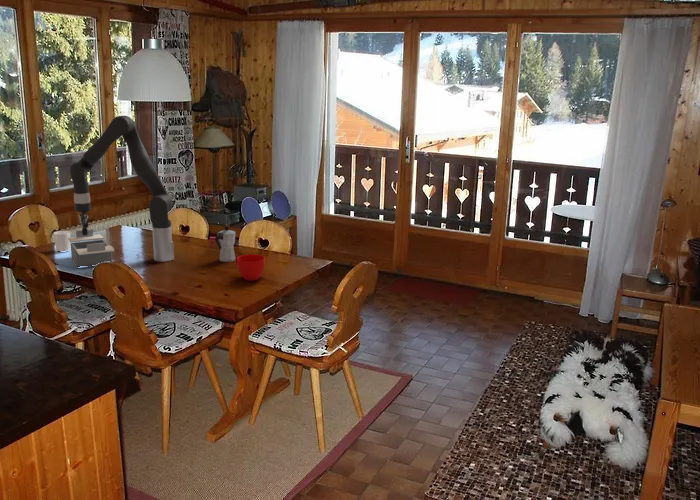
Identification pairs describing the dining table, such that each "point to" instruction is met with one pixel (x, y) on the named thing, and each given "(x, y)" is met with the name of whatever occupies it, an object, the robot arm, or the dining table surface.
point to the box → (89, 258)
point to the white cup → (62, 240)
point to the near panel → (84, 251)
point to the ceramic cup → (250, 266)
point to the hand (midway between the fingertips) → (85, 234)
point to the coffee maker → (226, 244)
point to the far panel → (85, 236)
